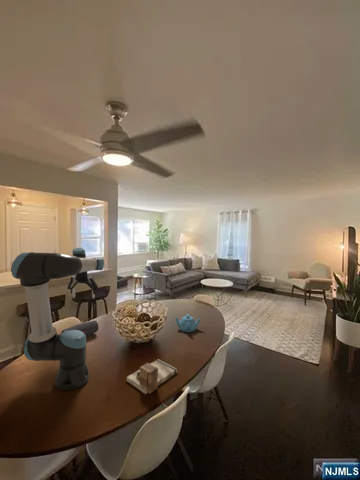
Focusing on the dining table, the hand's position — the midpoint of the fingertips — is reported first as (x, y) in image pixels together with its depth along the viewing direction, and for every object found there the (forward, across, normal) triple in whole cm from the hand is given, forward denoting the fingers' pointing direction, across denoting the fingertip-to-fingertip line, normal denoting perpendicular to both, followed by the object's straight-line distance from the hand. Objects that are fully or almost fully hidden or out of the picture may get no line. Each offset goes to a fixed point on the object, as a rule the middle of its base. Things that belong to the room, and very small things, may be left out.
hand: (84, 297), depth 158 cm
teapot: (+31, -75, -6) cm, 81 cm away
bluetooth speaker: (+25, 0, +12) cm, 28 cm away
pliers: (+27, -46, +8) cm, 54 cm away
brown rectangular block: (+9, -50, +58) cm, 77 cm away
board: (+12, -53, +51) cm, 74 cm away
